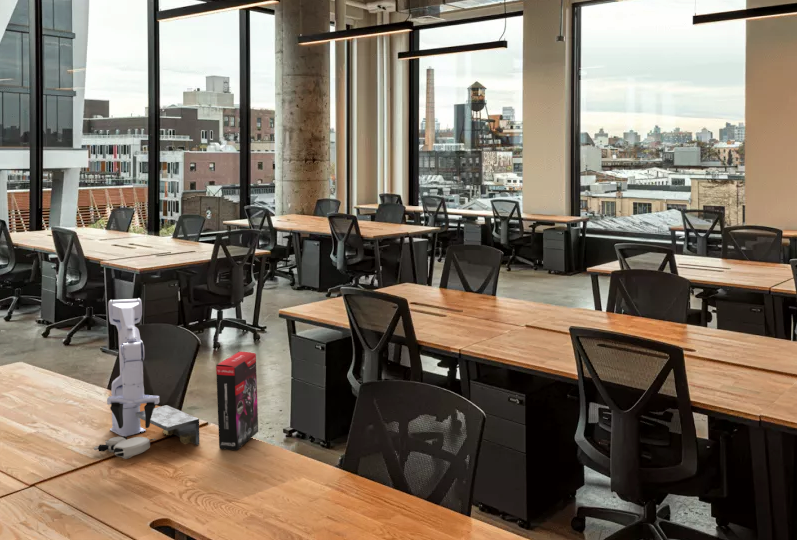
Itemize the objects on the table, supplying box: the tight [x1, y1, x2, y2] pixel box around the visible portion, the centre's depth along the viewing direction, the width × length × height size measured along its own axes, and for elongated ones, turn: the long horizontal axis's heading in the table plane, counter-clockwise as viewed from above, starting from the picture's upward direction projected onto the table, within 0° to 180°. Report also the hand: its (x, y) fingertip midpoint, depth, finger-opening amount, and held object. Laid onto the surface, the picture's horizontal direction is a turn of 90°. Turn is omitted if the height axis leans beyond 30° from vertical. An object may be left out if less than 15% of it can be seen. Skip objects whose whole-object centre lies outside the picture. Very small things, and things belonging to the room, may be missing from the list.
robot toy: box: [93, 435, 157, 460], centre depth 227 cm, size 12×4×15 cm
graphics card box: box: [215, 350, 259, 451], centre depth 237 cm, size 17×7×27 cm, turn 168°
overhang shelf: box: [136, 404, 201, 446], centre depth 237 cm, size 19×11×8 cm, turn 48°
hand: (134, 427), depth 221 cm, fingers open, 7 cm apart
